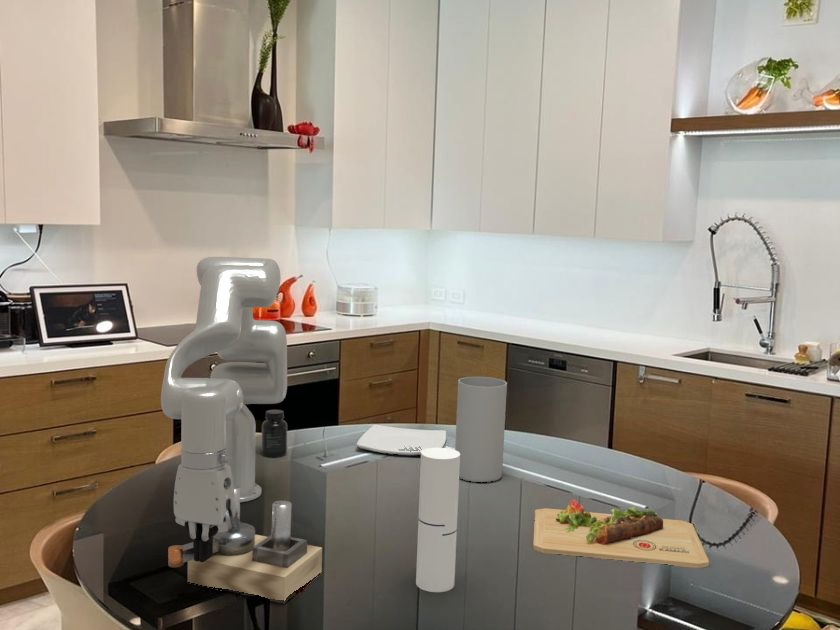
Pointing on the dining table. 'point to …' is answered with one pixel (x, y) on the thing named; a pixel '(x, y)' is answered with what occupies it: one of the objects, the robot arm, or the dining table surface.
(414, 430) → the plate
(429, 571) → the cylindrical container
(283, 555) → the block
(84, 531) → the dining table surface
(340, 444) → the dining table surface
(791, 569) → the dining table surface
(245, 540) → the grey crank lever
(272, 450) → the supplement bottle
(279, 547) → the key peg
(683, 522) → the cutting board
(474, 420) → the cylinder vase
